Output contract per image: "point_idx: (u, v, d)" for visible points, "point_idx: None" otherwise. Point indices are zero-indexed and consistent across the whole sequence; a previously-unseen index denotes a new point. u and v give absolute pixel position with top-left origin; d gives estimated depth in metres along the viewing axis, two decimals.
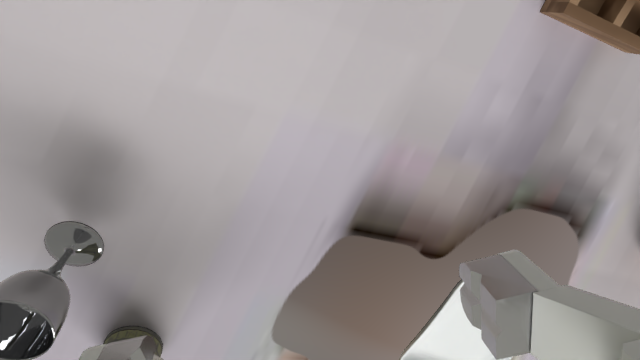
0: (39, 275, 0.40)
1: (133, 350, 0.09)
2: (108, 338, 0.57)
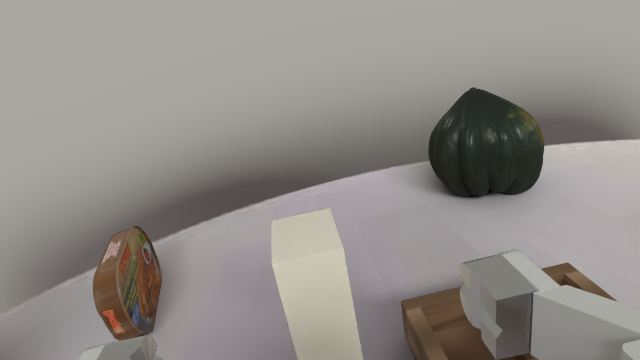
0: None
1: (133, 350, 0.09)
2: None
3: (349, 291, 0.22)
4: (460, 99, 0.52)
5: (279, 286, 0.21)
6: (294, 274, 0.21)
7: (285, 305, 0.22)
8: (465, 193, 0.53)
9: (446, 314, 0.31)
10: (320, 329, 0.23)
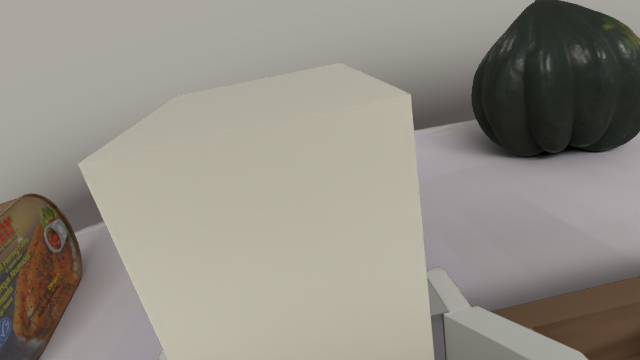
0: None
1: None
2: None
3: (422, 293, 0.06)
4: (522, 14, 0.36)
5: (135, 273, 0.05)
6: (196, 218, 0.05)
7: (173, 349, 0.06)
8: (530, 151, 0.36)
9: (582, 341, 0.15)
10: None
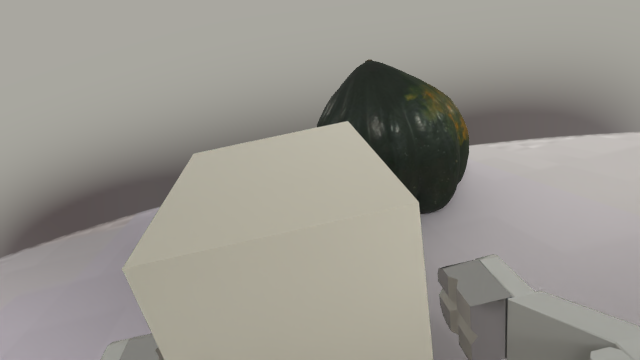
0: None
1: None
2: None
3: None
4: (349, 76, 0.36)
5: (169, 356, 0.05)
6: (225, 308, 0.05)
7: None
8: None
9: None
10: None
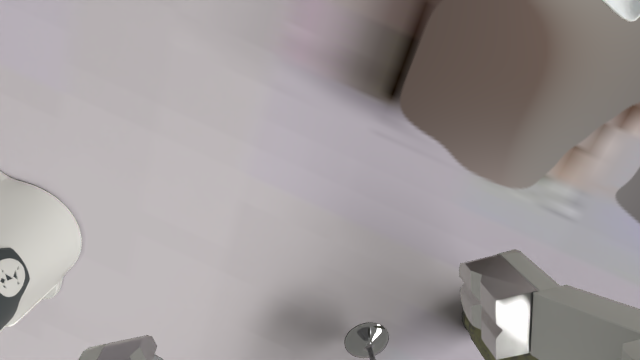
0: None
1: (133, 350, 0.09)
2: None
3: None
4: None
5: None
6: None
7: None
8: None
9: None
10: None
